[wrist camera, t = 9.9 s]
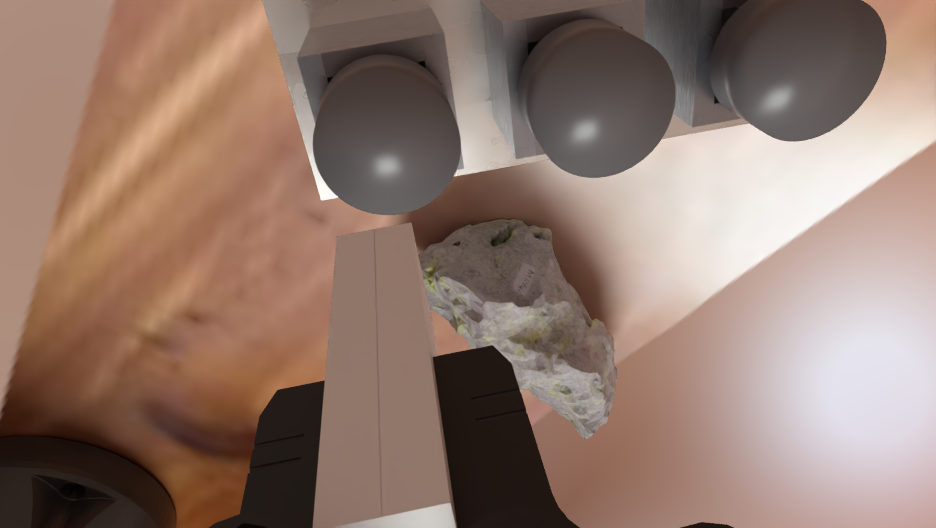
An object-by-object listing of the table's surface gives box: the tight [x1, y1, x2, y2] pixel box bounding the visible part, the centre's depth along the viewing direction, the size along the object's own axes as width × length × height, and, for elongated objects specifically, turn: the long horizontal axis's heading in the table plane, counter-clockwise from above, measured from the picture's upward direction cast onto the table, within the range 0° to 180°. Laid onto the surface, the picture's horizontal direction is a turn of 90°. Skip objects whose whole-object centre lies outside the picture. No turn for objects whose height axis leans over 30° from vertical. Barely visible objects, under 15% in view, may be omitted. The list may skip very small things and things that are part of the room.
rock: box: [418, 219, 617, 440], centre depth 33 cm, size 16×7×7 cm, turn 39°
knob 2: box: [518, 19, 676, 178], centre depth 23 cm, size 5×5×10 cm
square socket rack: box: [262, 0, 748, 201], centre depth 25 cm, size 22×10×7 cm, turn 98°
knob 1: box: [313, 54, 461, 215], centre depth 23 cm, size 5×5×10 cm
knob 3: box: [710, 0, 886, 141], centre depth 24 cm, size 5×5×10 cm
